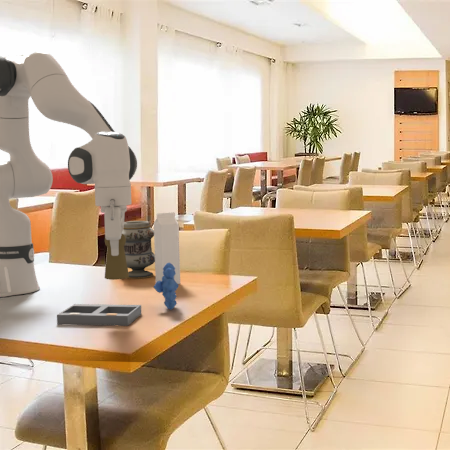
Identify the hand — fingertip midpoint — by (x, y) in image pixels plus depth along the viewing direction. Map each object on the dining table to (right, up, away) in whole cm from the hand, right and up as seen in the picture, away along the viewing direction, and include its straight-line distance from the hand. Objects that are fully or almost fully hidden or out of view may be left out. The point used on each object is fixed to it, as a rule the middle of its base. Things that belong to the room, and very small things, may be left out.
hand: (115, 253), depth 186 cm
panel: (-4, -17, +3) cm, 17 cm away
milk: (+9, -11, +48) cm, 50 cm away
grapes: (+12, -15, +13) cm, 23 cm away
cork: (0, -6, +1) cm, 6 cm away
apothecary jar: (-2, -10, +62) cm, 62 cm away
